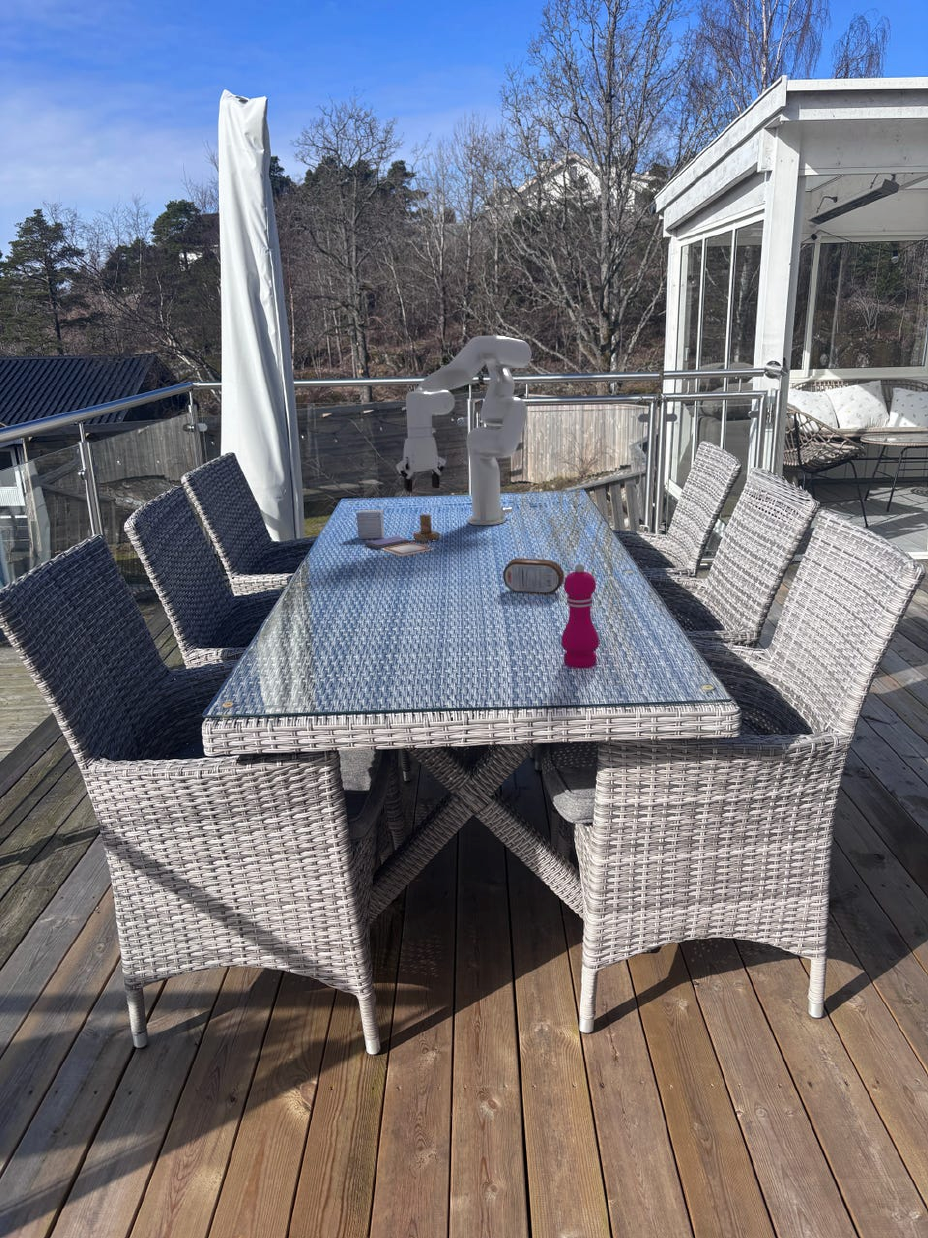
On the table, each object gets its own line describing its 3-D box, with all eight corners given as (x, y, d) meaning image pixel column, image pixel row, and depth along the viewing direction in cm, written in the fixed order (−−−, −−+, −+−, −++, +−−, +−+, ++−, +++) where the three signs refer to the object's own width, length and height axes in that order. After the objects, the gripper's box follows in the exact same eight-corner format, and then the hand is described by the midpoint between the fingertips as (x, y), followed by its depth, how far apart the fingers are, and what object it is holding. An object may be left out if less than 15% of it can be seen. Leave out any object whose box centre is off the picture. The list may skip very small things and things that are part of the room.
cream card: (414, 542, 277) (414, 541, 277) (435, 549, 268) (435, 547, 267) (380, 549, 271) (380, 547, 271) (400, 556, 261) (400, 554, 261)
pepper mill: (558, 657, 177) (557, 560, 171) (594, 655, 177) (594, 557, 171) (565, 671, 170) (564, 569, 164) (602, 668, 171) (603, 567, 164)
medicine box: (384, 535, 289) (383, 509, 286) (382, 538, 285) (380, 512, 282) (361, 536, 290) (358, 509, 287) (358, 539, 286) (356, 512, 283)
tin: (564, 592, 220) (564, 559, 217) (561, 596, 217) (561, 562, 214) (505, 589, 225) (504, 556, 222) (502, 592, 222) (501, 560, 219)
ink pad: (398, 539, 283) (398, 535, 283) (411, 543, 277) (410, 539, 277) (364, 545, 277) (364, 541, 277) (377, 549, 271) (376, 545, 270)
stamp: (429, 537, 284) (428, 512, 282) (439, 540, 280) (438, 515, 277) (413, 540, 281) (412, 515, 279) (423, 543, 277) (422, 518, 274)
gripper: (437, 430, 278) (439, 485, 283) (389, 434, 268) (392, 491, 274) (450, 431, 272) (452, 487, 277) (401, 436, 262) (404, 494, 268)
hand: (422, 489), depth 275 cm, fingers open, 9 cm apart
